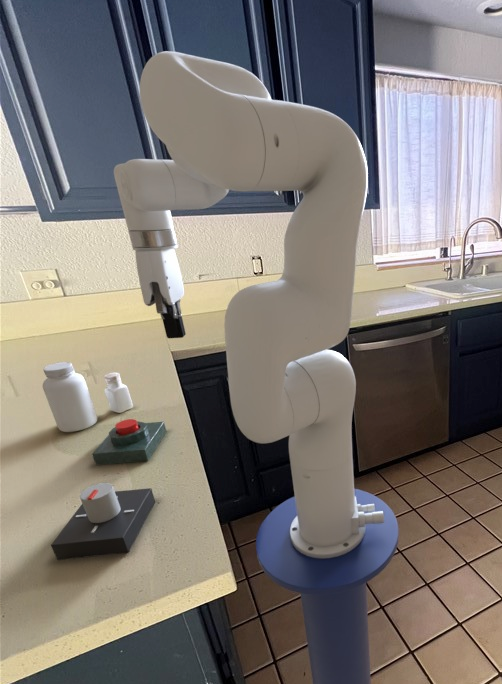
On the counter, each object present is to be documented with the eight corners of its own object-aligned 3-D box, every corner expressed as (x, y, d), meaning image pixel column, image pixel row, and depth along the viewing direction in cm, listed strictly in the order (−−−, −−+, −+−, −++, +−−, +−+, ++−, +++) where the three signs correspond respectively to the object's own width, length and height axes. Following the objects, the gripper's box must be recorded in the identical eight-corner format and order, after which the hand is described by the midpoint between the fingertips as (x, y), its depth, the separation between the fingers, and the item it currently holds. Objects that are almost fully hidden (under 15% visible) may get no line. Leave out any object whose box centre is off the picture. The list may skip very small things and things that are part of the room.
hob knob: (96, 506, 70) (87, 482, 68) (125, 503, 70) (116, 479, 68) (83, 524, 66) (73, 499, 64) (113, 521, 66) (104, 497, 64)
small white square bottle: (125, 404, 111) (114, 370, 107) (134, 407, 109) (124, 373, 105) (110, 411, 108) (98, 376, 104) (119, 414, 106) (108, 379, 102)
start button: (141, 425, 92) (139, 418, 91) (134, 434, 89) (132, 427, 88) (122, 427, 92) (119, 419, 91) (114, 436, 88) (111, 429, 87)
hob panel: (155, 501, 75) (151, 487, 74) (128, 552, 65) (122, 536, 63) (95, 507, 74) (89, 492, 73) (57, 560, 63) (49, 544, 62)
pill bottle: (80, 434, 97) (58, 373, 91) (50, 431, 99) (25, 371, 92) (106, 417, 104) (87, 360, 98) (77, 416, 106) (56, 358, 99)
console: (166, 431, 98) (162, 414, 96) (148, 460, 87) (142, 441, 85) (120, 435, 97) (114, 417, 95) (95, 465, 86) (88, 446, 84)
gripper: (147, 237, 84) (168, 327, 92) (114, 245, 71) (143, 349, 79) (186, 236, 85) (204, 325, 93) (162, 243, 72) (185, 347, 80)
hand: (176, 336), depth 86 cm, fingers closed
